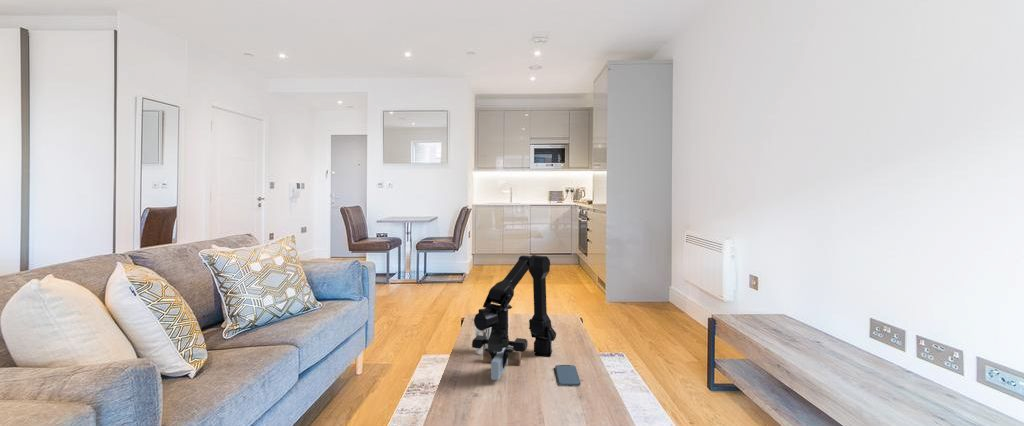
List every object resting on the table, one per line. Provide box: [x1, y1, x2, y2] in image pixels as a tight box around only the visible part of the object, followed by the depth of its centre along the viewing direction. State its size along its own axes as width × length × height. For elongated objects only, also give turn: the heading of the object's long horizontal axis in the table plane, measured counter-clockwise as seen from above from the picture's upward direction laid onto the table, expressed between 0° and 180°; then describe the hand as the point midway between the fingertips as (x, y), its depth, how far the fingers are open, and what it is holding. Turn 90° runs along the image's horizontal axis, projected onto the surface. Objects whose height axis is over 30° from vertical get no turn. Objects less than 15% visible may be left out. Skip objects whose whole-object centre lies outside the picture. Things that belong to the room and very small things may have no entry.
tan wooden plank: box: [482, 348, 522, 367], centre depth 160 cm, size 14×2×5 cm, turn 78°
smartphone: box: [554, 364, 582, 387], centre depth 148 cm, size 8×2×15 cm
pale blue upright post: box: [490, 348, 508, 381], centre depth 148 cm, size 2×14×6 cm, turn 168°
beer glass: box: [473, 314, 492, 356], centre depth 171 cm, size 7×7×15 cm
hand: (499, 367), depth 148 cm, fingers closed on pale blue upright post, 2 cm apart
